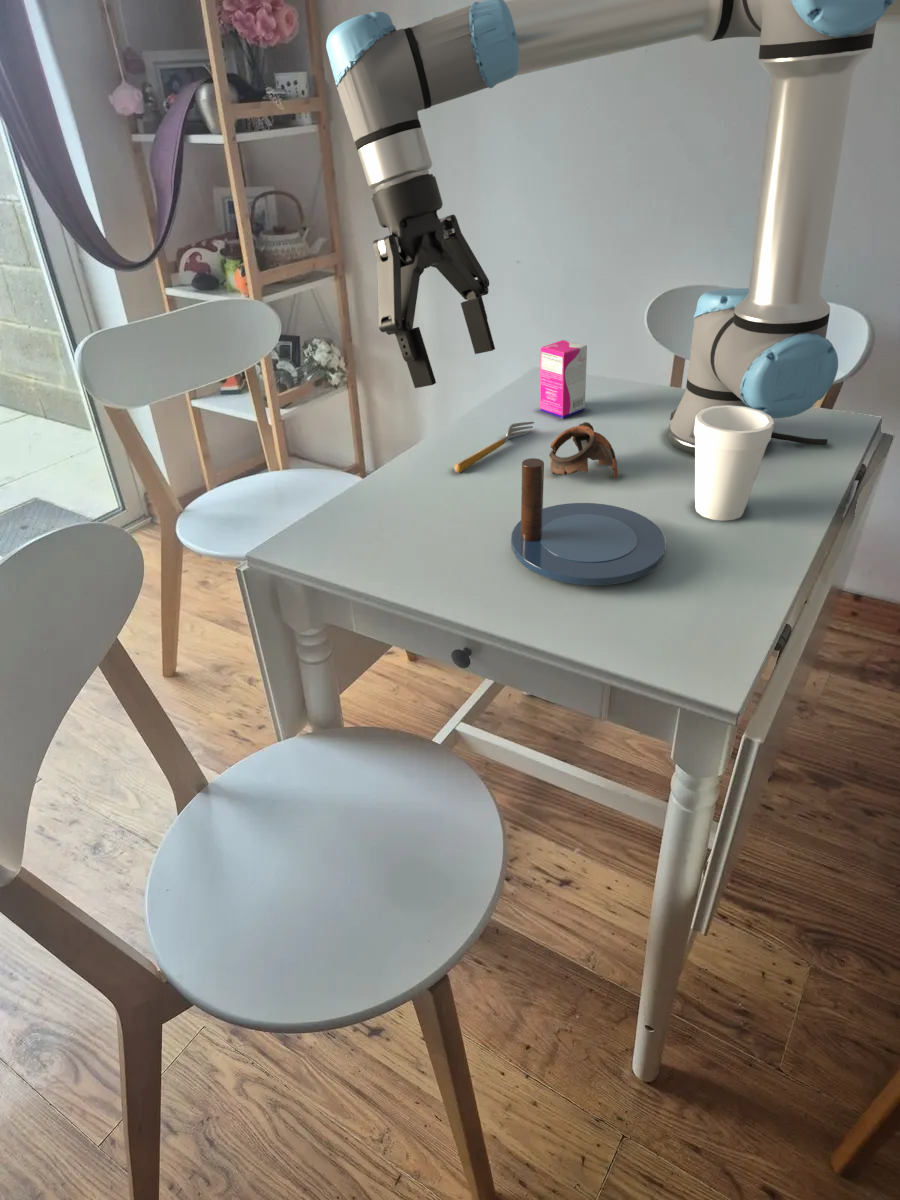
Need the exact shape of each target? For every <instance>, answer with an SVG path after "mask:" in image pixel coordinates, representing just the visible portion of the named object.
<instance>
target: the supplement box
mask: <svg viewBox="0 0 900 1200" xmlns="http://www.w3.org/2000/svg"><path fill="white" fill-rule="evenodd" d="M587 356H588V345H587V344H582V343H578V342H573V341H570V340H566V339H562V340H558V341H556V342H552V343H549V344H546V345H544V346H541V347H540V366H539V367H540V371H539V372H540V381H539V382H540V383H539V387H540V389H539V391H540V392H539V393H540V394H539V402H540V403H539V411H540V412H542V413H545V414H547V415H551V416H554V417H556V418H559V419H562V420H564V419H567V418H569V417H572V416H574V415H577V414H580V413H583V412H585V411H586V390H587V389H586V386H587V385H586V384H587V359H588V358H587Z"/></svg>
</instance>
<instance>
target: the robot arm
mask: <svg viewBox="0 0 900 1200" xmlns="http://www.w3.org/2000/svg"><path fill="white" fill-rule="evenodd" d="M895 1H896V0H507V1H505V0H483V1H474V2H472V3H471V4H468V5H466V6H464V7H461V8H458V9H455V10H453V11H449V12H447V13H445V14H442V15H440V16H439V15H438V16H436V17H433V18H431V19H429V20H427V21H424V22H421V23H419V24H416V25H413V26H409V27H407V28H400V29H397V28H396V25H394V22H393V21H392V18H391V16H390V15H389V13H387V12H385V11H372V12H370V13H366V14H365V13H363V14H360V15H356V16H354V17H351V18H349V19H347V20H345V21H342V23H339V24H338V25H337V26H336V27H334V28H333V29H332V30H331V31H330V33H329V34H328V35H327V39H326V43H325V48H326V53H327V56H328V58H329V59H328V60H329V64H330V67H331V70H332V71H331V72H332V75H333V78H334V83H335V86H336V89H337V92H338V95H339V100H340V102H341V105H342V108H343V111H344V114H345V118H346V120H347V123H348V126H349V130H350V133H351V135H352V139H353V142H354V145H355V148H356V151H357V154H358V156H359V159H360V163H361V166H362V170H363V172H364V176H365V179H366V183H367V186H368V188H370V189H374V191H375V192H374V193H373V194H372V197H371V201H372V204H373V208H374V210H375V214H376V216H377V220H378V223H379V225H380V227H382V228H384V229H385V228H386V229H387V228H388V230H389V235H386V236H383V237H381V238H378V239H375V240H373V242H372V248H373V253H374V256H375V260H376V261H375V262H376V277H377V278H376V280H377V317H378V318H377V320H378V329H379V331H380V332H381V333H386V334H387V335H389V336H391V335H395V337H396V341H397V343H398V347H399V349H400V352H401V356H402V358H403V361H404V362H405V363H406V366H407V368H408V372H409V375H410V377H411V381H412V384H413V387H414V389H418V388H423V387H430V386H433V385H435V384H437V381H436V380H437V379H436V377H435V374H434V371H433V367H432V364H431V360H430V358H429V355H428V351H427V348H426V345H425V341H424V338H423V335H422V332H421V328H420V327H419V326H417V327H414V322H415V316H416V308H417V299H418V294H419V287H420V278H421V275H422V274H423V273H424V272H425V269H428V268H430V267H432V268H435V269H436V270H437V271H438V272H439V273H440V274H441V275H442V276H443V278H445V279H446V281H448V283H449V284H450V285H451V286H452V287H453V288H454V289H455V290H456V292H458V294H459V295H460V296H461V297H462V298H463V299H464V300H465V301H464V300H463V301H462V302H460V305H461V310H462V313H463V317H464V320H465V323H466V327H467V331H468V335H469V338H470V341H471V345H472V348H473V352H474V355H478V354H482V353H488V352H492V351H495V350H496V347H495V344H494V339H493V335H492V331H491V329H490V325H489V321H488V315H487V311H486V307H485V304H484V300H483V296H486V295H488V294H489V291H490V290H489V287H490V279H489V277H488V276H487V274H486V273H485V271H484V269H483V267H482V266H481V264H480V262H479V260H478V259H477V257H476V254H475V253H474V252H473V250H472V249H471V247H470V245H469V243H468V241H467V239H466V237H465V236H464V235H463V233H462V231H461V228H460V224H459V221H458V218H457V216H456V215H455V214H450V215H447V216H444V217H441V218H439V215H438V211H440V210H441V209H442V208H443V199H442V195H441V192H440V188H439V185H438V181H437V177H436V176H434V174H433V173H430V171H429V170H430V169H431V168H432V166H433V162H432V158H431V156H430V155H431V154H430V152H429V148H428V145H427V142H426V138H425V135H424V131H423V128H422V124H421V121H420V118H419V113H418V112H420V111H423V110H427V109H430V108H431V107H433V106H434V107H435V106H437V105H439V104H443V103H446V102H449V101H452V100H455V99H456V100H457V99H458V98H461V97H465V96H468V95H471V94H473V93H477V92H480V91H482V90H485V89H493V88H494V87H495V86H497V85H499V84H501V83H504V82H507V81H509V80H511V79H513V78H514V77H518V76H522V75H527V74H532V73H535V72H540V71H544V70H548V69H552V68H553V69H554V68H557V67H561V66H565V65H571V64H575V63H579V62H583V61H588V60H592V59H596V58H601V57H605V56H610V55H614V54H619V53H623V52H626V51H631V50H636V49H640V48H644V47H650V46H653V45H657V44H662V43H667V42H671V41H675V40H679V39H684V38H688V37H693V36H695V37H697V39H698V40H700V41H701V42H702V43H709V42H713V41H719V40H724V39H731V38H759V50H758V63H759V65H760V66H761V67H762V68H763V69H764V71H765V72H766V73H767V74H768V76H769V79H770V81H769V82H770V83H769V91H768V100H767V111H766V118H765V119H766V121H765V128H764V129H765V131H764V139H763V148H762V149H763V150H762V157H761V158H762V160H761V168H760V179H759V187H758V198H757V206H756V209H757V210H756V216H755V225H754V226H755V227H754V236H753V244H752V245H753V246H752V255H751V264H750V265H751V266H750V274H749V284H748V287H747V288H744V287H743V288H741V287H740V288H722V289H715V290H709V291H706V292H704V293H702V294H701V295H700V297H699V298H698V301H697V303H696V307H695V308H696V309H695V313H694V315H693V327H692V337H691V345H690V351H689V361H688V368H687V376H686V377H687V378H686V385H685V391H684V393H683V395H682V397H681V399H680V402H679V403H678V406H677V408H675V409H674V410H673V411H672V412H670V418H669V421H670V422H669V424H668V433H667V438H668V441H669V443H670V444H671V445H672V446H673V447H675V448H676V449H678V450H679V451H682V452H683V453H687V454H689V455H692V456H695V435H694V426H695V419H696V415H697V414H698V413H699V412H700V411H701V410H703V409H706V408H709V407H713V406H725V405H732V406H743V407H748V408H752V409H756V410H760V411H762V412H764V413H766V414H768V415H770V416H771V418H772V419H786V418H792V417H794V416H798V415H801V414H803V413H804V412H806V411H808V410H810V409H811V408H812V407H814V405H815V404H816V403H817V402H818V401H821V400H822V399H824V397H825V396H826V394H827V393H828V392H829V390H830V389H831V387H832V386H833V383H834V382H835V379H836V377H837V374H838V370H839V357H838V353H837V350H836V348H835V347H834V345H833V343H832V342H831V341H830V340H829V339H828V338H827V333H828V327H829V326H828V325H829V320H830V313H831V306H830V304H829V303H828V302H827V301H826V300H825V299H824V298H823V296H822V295H821V287H822V281H823V273H824V268H825V261H826V254H827V247H828V241H829V235H830V228H831V221H832V215H833V208H834V202H835V195H836V188H837V182H838V175H839V169H840V161H841V156H842V149H843V144H844V143H843V142H844V137H845V135H844V134H845V129H846V123H847V115H848V110H849V102H850V95H851V89H852V82H853V76H854V73H855V70H856V68H857V67H858V66H859V65H860V64H861V63H862V62H863V61H864V59H866V58H867V56H869V55H870V53H871V52H872V51H873V46H874V39H875V33H876V27H877V22H878V21H879V20H881V18H882V17H883V16H884V15H885V14H886V12H887V10H888V9H889V7H890V6H892V5H893V4H894V2H895ZM476 278H477V279H476ZM771 439H774V440H779V441H780V440H781V441H786V442H792V443H798V444H803V445H812V446H827V445H828V442H829V441H828V438H812V437H803V436H797V435H793V434H786V433H781V432H773V431H772V435H771Z"/></svg>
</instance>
